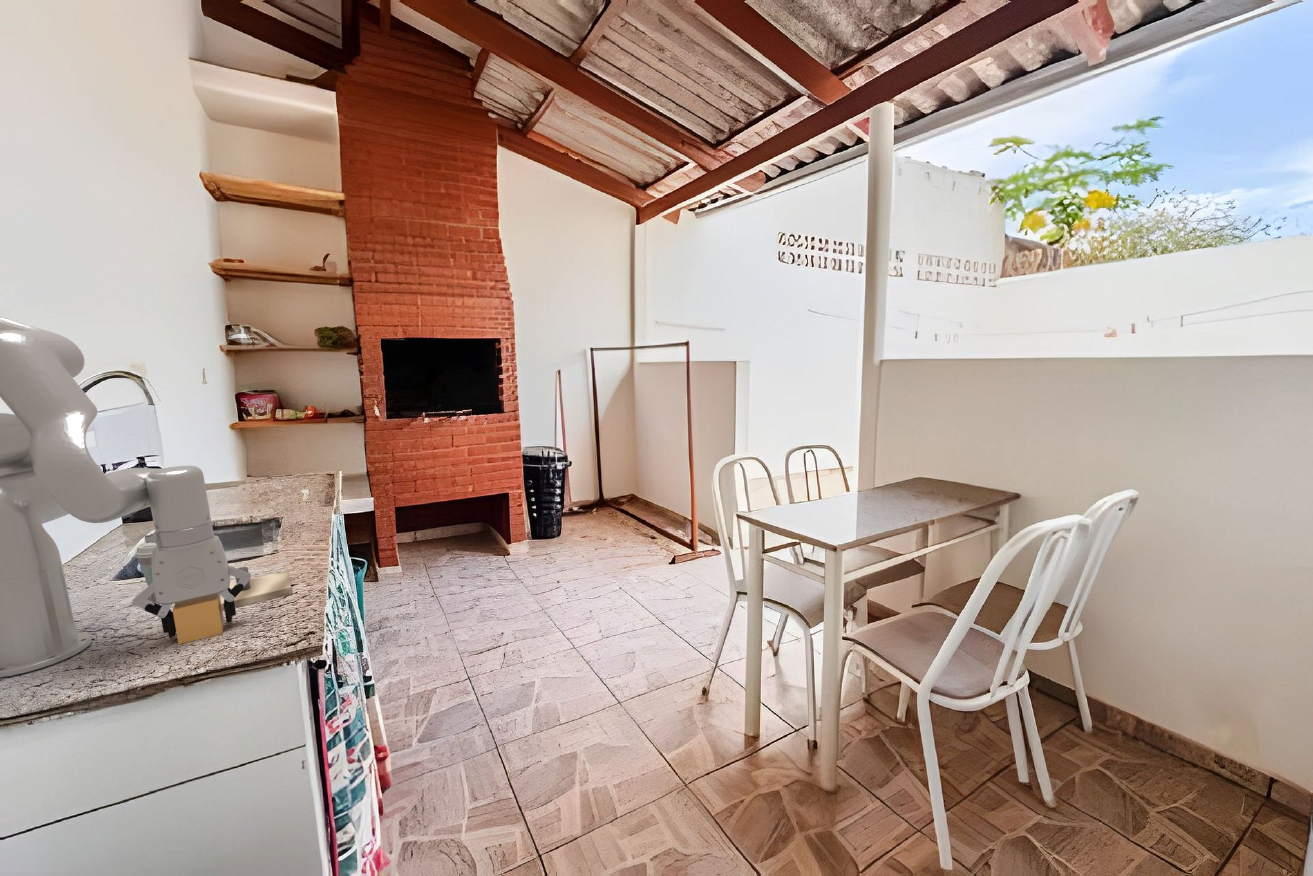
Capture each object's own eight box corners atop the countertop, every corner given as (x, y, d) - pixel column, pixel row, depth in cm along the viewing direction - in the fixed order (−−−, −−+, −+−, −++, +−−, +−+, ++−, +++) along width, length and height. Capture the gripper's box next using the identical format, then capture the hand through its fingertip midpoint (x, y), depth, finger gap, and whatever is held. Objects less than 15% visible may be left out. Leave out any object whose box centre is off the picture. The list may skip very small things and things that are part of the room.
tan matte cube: (178, 644, 92) (172, 610, 91) (182, 631, 97) (176, 598, 96) (222, 633, 96) (216, 600, 95) (224, 621, 101) (219, 589, 100)
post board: (193, 617, 102) (188, 589, 101) (198, 597, 112) (194, 570, 111) (291, 594, 112) (288, 567, 111) (289, 576, 121) (285, 552, 120)
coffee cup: (136, 599, 112) (126, 545, 110) (186, 583, 119) (177, 533, 118) (154, 606, 108) (143, 551, 106) (204, 590, 115) (195, 538, 114)
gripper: (112, 553, 86) (132, 653, 88) (246, 529, 96) (260, 619, 98) (122, 541, 91) (140, 635, 94) (247, 520, 102) (260, 605, 104)
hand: (201, 626), depth 96 cm, fingers open, 7 cm apart
